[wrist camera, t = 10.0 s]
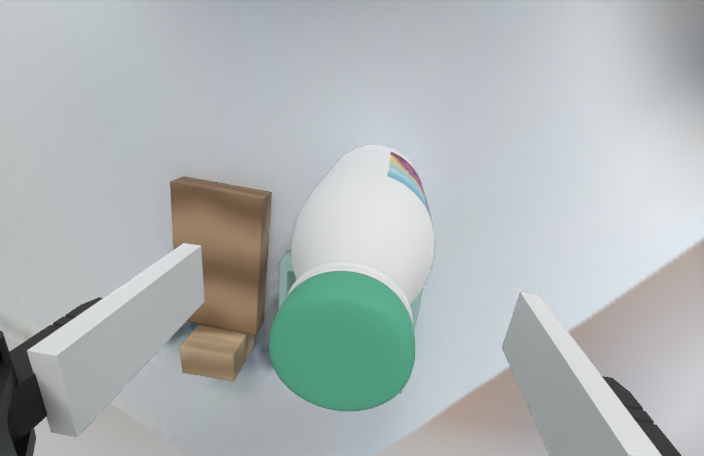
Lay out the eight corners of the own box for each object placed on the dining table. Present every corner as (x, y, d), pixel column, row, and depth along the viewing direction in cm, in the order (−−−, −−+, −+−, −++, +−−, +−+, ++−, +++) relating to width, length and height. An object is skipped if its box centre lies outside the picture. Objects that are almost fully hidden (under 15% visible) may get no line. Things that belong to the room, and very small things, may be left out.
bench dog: (207, 314, 36) (179, 347, 31) (254, 321, 35) (232, 355, 31) (209, 337, 37) (182, 372, 32) (254, 344, 36) (233, 381, 32)
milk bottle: (328, 229, 31) (228, 436, 12) (328, 141, 28) (198, 234, 9) (416, 235, 30) (452, 465, 11) (425, 145, 27) (494, 255, 8)
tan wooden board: (187, 175, 31) (170, 181, 28) (273, 190, 30) (263, 198, 28) (191, 304, 36) (177, 318, 34) (264, 319, 36) (255, 334, 33)
